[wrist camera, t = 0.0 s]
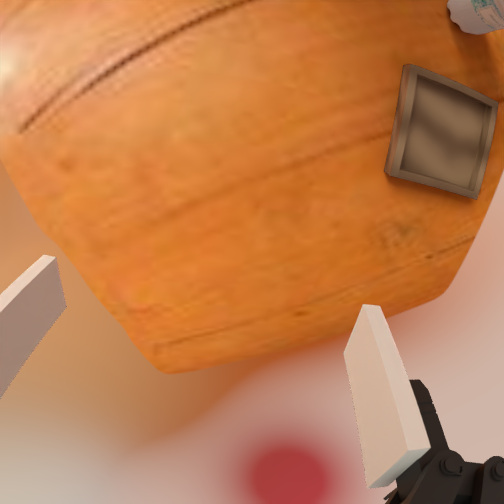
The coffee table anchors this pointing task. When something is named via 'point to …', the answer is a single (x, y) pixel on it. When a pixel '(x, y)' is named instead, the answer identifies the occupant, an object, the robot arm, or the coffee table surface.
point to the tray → (441, 133)
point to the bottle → (477, 15)
